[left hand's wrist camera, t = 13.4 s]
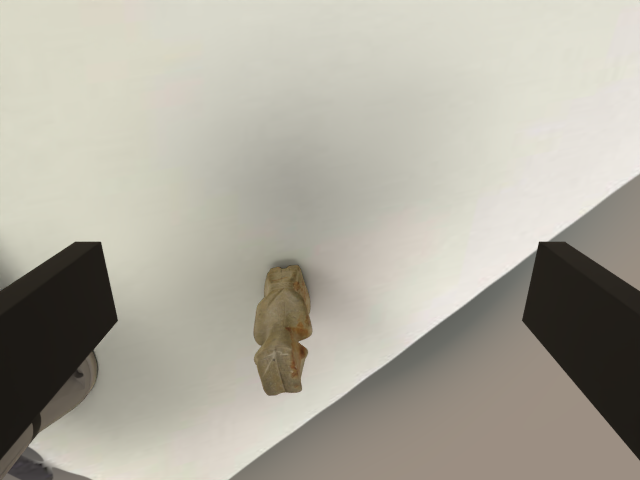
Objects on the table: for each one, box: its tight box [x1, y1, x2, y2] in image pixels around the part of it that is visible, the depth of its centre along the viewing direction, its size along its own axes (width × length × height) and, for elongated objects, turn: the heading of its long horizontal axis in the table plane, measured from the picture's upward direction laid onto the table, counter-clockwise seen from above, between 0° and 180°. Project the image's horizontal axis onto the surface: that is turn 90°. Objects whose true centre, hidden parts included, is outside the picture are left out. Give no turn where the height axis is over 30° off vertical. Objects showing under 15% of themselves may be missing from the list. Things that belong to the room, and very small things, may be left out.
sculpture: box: [254, 265, 312, 396], centre depth 41 cm, size 6×7×15 cm
